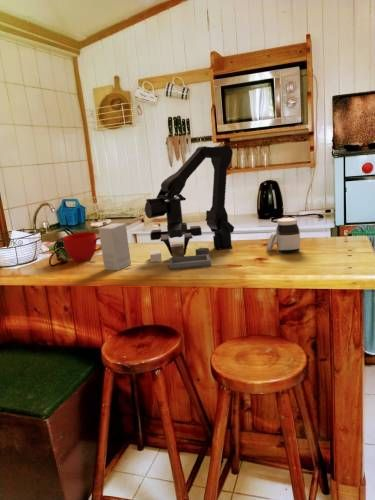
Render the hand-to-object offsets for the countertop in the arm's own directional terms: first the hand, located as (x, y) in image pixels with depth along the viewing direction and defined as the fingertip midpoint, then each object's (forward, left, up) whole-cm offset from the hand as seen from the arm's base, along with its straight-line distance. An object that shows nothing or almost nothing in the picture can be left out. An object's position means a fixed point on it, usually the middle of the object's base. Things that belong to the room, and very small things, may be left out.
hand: (178, 255), depth 150 cm
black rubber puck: (-9, +2, -1) cm, 9 cm away
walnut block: (0, 0, -1) cm, 1 cm away
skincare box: (+22, +5, -1) cm, 23 cm away
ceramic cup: (+37, -12, -1) cm, 39 cm away
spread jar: (-38, +5, -1) cm, 38 cm away
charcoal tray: (-4, +11, -1) cm, 12 cm away
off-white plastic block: (+9, -1, -1) cm, 9 cm away
